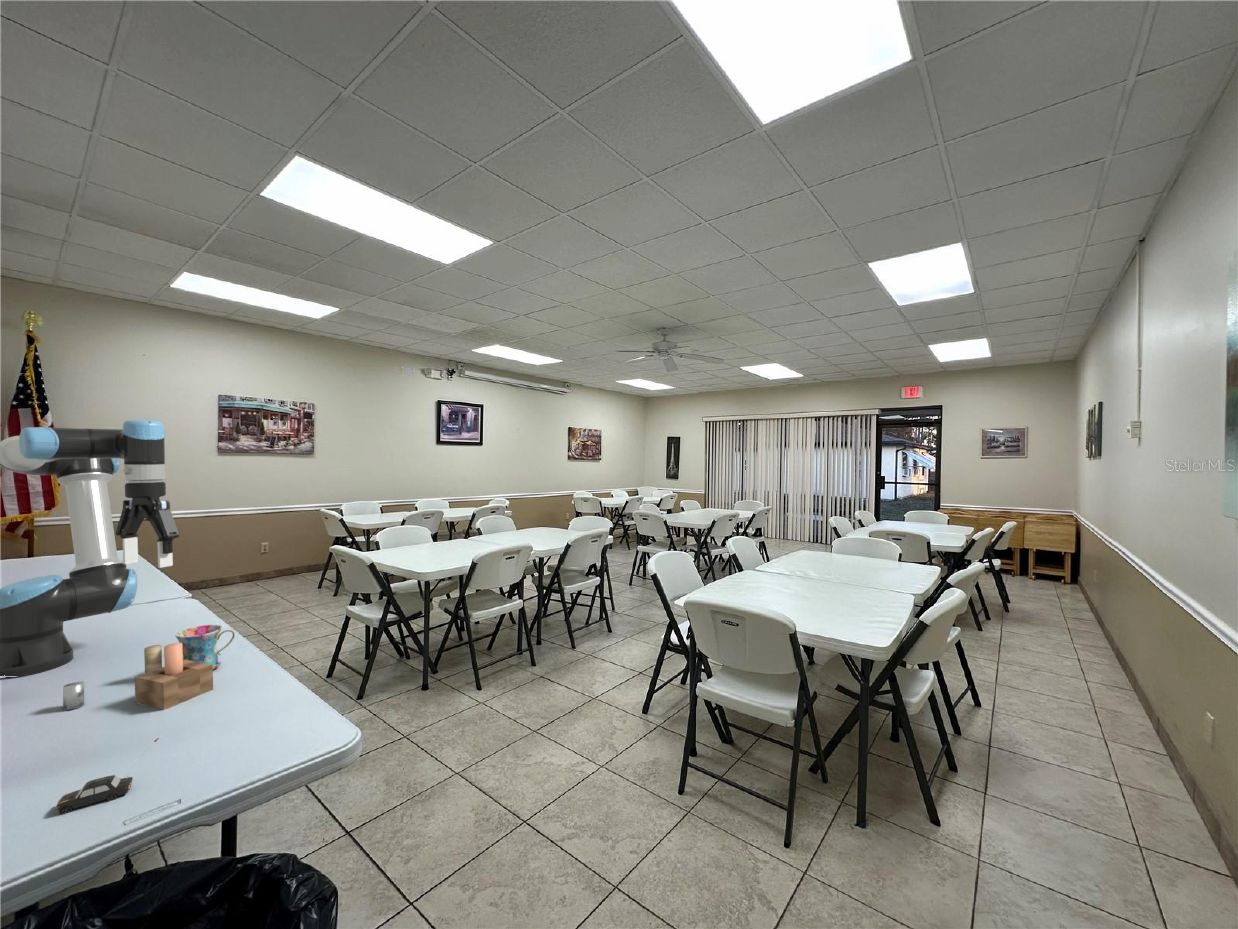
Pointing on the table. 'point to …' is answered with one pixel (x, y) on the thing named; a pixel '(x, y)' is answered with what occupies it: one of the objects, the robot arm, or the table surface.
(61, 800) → the toy car
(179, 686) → the block
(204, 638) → the mug
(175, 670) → the long pin
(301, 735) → the table surface
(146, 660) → the medium pin
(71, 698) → the short pin
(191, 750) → the table surface
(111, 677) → the table surface
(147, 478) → the robot arm
